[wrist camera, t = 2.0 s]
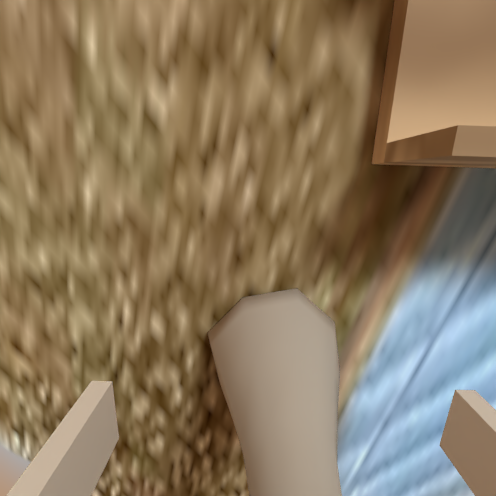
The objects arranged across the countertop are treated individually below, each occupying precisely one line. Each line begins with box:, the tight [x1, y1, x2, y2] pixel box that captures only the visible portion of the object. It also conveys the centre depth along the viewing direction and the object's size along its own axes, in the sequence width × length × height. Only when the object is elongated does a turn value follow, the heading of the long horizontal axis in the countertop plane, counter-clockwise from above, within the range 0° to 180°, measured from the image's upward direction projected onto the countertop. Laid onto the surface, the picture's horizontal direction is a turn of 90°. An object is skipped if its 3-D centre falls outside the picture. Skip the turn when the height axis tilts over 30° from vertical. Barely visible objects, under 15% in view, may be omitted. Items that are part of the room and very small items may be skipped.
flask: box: [208, 288, 342, 496], centre depth 10 cm, size 7×7×10 cm
